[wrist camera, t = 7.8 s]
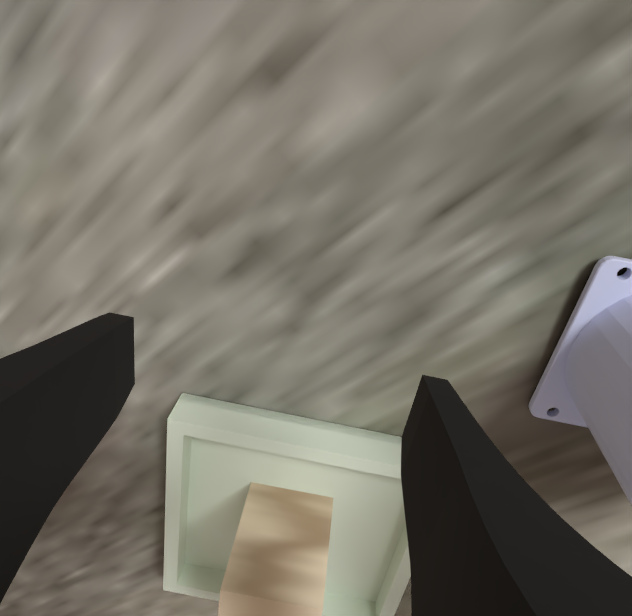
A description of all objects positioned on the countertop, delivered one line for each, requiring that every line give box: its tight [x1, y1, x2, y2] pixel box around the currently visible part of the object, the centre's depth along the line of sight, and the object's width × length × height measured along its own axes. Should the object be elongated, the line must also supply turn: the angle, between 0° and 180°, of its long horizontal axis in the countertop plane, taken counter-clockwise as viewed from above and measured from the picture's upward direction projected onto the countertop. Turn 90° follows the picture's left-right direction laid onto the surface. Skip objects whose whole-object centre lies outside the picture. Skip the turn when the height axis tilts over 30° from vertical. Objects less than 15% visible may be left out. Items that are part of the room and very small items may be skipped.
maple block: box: [218, 482, 333, 616], centre depth 25 cm, size 4×4×6 cm
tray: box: [163, 393, 411, 616], centre depth 27 cm, size 14×14×2 cm
